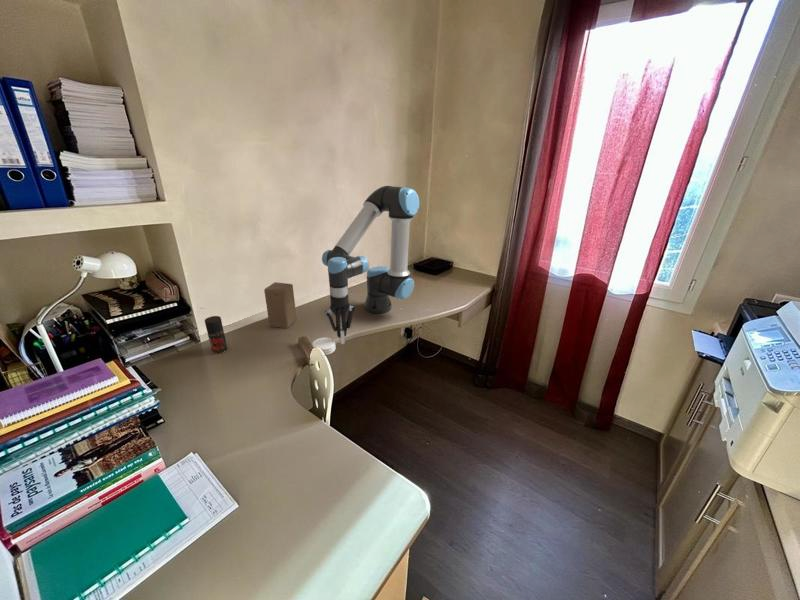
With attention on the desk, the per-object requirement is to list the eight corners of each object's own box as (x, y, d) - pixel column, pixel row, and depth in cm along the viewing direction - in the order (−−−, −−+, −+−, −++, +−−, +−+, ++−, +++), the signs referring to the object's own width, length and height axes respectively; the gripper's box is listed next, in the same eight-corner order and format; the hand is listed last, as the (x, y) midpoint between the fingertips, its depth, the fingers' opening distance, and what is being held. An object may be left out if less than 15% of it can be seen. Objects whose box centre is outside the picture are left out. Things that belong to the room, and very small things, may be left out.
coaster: (307, 352, 145) (306, 345, 143) (321, 341, 153) (320, 335, 152) (327, 358, 141) (326, 351, 140) (340, 346, 150) (339, 340, 148)
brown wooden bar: (307, 342, 152) (306, 335, 150) (318, 363, 138) (318, 355, 136) (298, 344, 150) (297, 337, 149) (308, 365, 136) (308, 358, 134)
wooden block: (287, 329, 162) (282, 291, 154) (268, 326, 164) (263, 288, 156) (297, 319, 171) (293, 283, 163) (279, 317, 173) (274, 281, 165)
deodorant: (208, 352, 143) (201, 321, 137) (220, 345, 148) (213, 314, 142) (219, 355, 141) (212, 323, 135) (230, 348, 146) (224, 317, 140)
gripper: (350, 288, 146) (352, 335, 156) (321, 293, 141) (325, 342, 151) (357, 295, 140) (358, 343, 150) (326, 300, 135) (330, 350, 145)
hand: (342, 342), depth 150 cm, fingers closed
